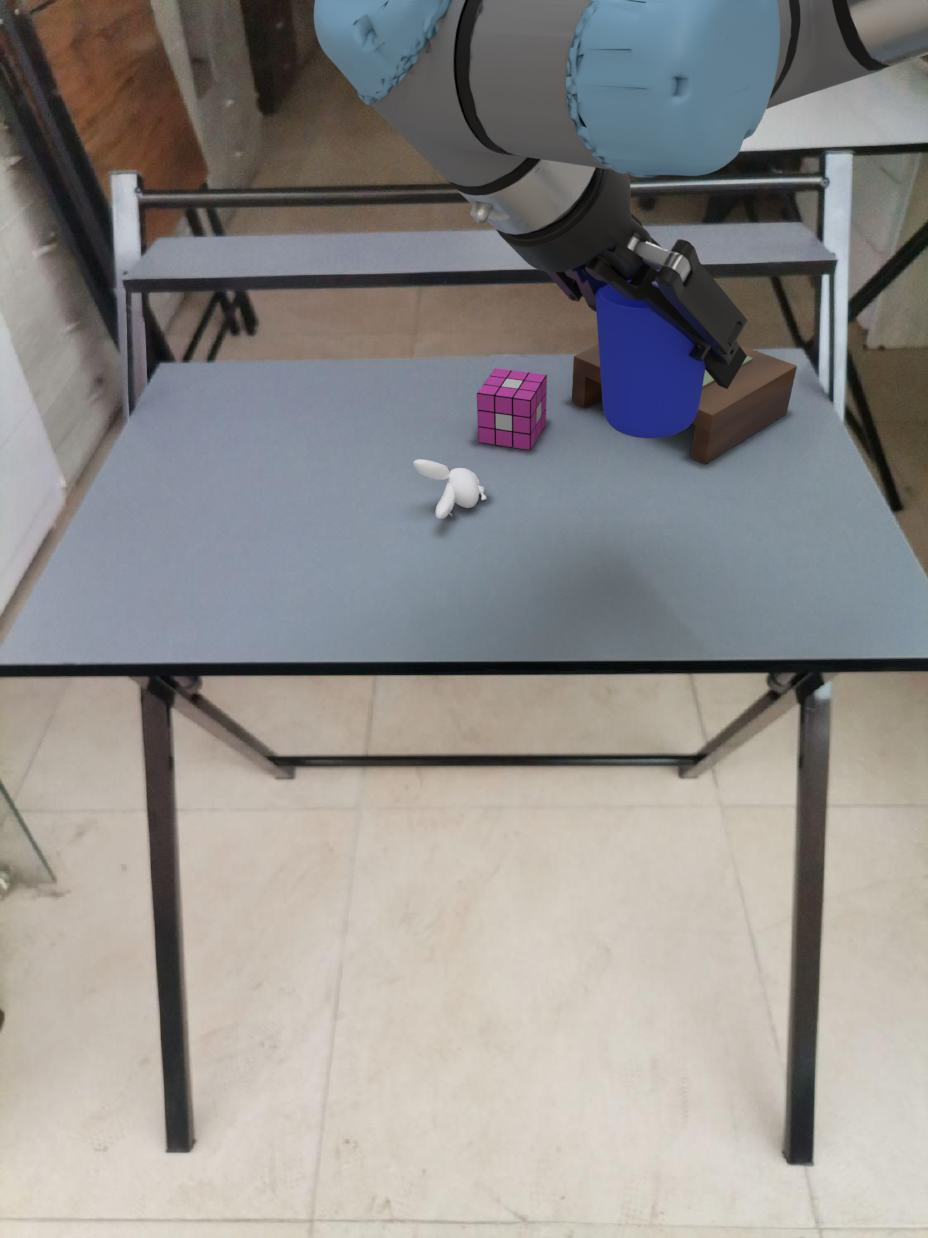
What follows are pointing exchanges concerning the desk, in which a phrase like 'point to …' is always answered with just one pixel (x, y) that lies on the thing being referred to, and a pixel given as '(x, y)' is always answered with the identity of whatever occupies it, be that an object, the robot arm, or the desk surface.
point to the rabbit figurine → (452, 486)
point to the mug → (645, 369)
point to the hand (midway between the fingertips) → (691, 355)
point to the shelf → (713, 399)
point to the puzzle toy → (512, 408)
